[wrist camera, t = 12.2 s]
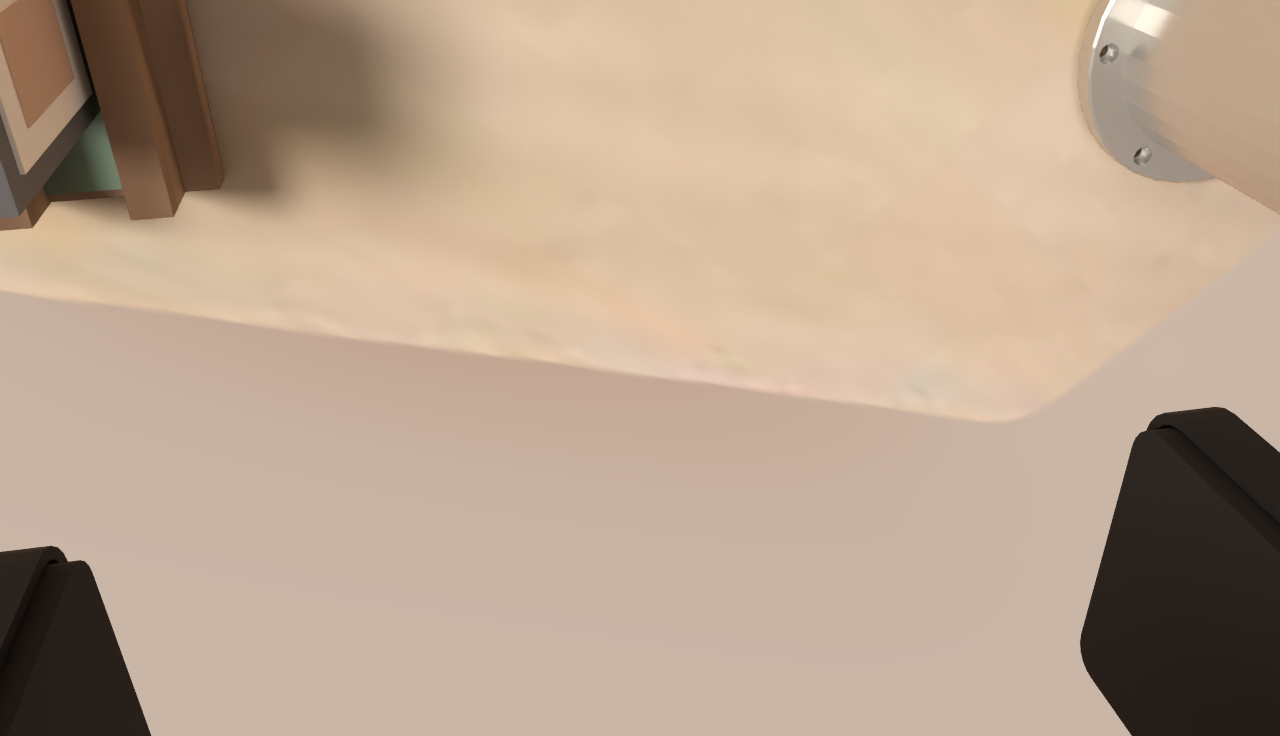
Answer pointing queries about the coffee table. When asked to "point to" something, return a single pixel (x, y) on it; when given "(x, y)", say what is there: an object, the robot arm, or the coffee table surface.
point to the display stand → (137, 114)
